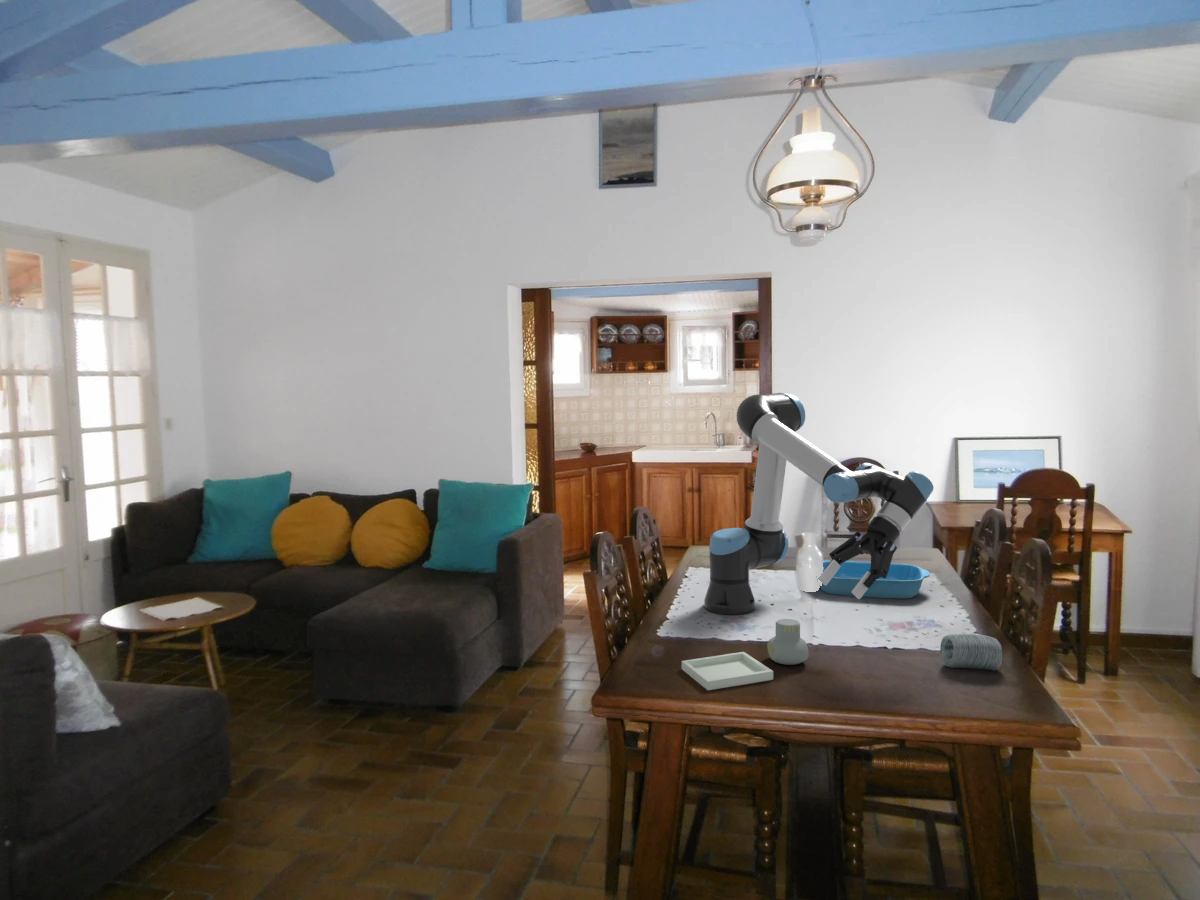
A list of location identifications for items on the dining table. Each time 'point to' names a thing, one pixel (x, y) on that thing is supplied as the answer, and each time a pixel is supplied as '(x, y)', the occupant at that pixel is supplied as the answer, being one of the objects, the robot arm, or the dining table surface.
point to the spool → (971, 651)
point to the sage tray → (726, 670)
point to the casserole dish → (877, 580)
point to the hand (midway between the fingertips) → (838, 588)
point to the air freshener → (787, 643)
